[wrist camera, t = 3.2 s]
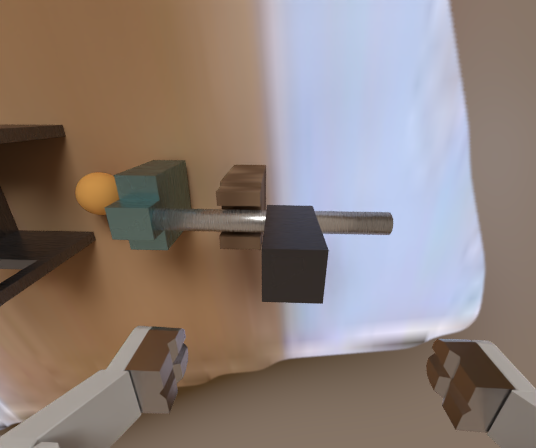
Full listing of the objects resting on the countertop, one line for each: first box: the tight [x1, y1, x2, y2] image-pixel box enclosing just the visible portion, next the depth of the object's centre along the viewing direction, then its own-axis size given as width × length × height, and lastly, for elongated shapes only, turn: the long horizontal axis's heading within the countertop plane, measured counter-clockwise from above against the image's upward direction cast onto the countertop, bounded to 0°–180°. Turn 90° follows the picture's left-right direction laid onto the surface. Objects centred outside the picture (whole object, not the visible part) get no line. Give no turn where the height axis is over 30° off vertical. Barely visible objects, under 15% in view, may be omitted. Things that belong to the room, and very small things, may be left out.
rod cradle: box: [216, 165, 266, 250], centre depth 22 cm, size 3×5×8 cm, turn 0°
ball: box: [75, 172, 119, 215], centre depth 25 cm, size 4×4×4 cm
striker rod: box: [105, 160, 393, 304], centre depth 19 cm, size 20×6×14 cm, turn 90°
